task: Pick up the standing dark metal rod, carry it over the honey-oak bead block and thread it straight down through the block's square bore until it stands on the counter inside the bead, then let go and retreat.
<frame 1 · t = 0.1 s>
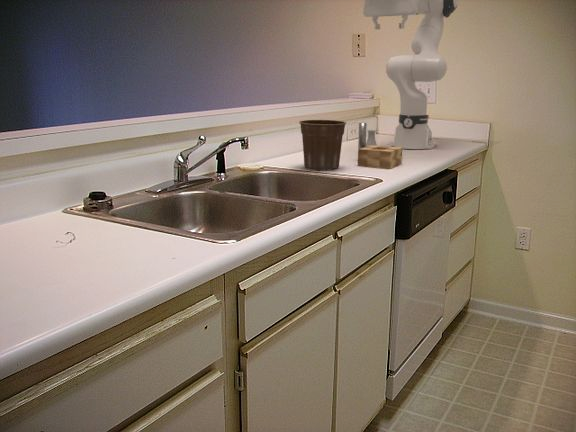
hand: (389, 28, 212), 48 cm above the table, fingers open, 8 cm apart
rod: (361, 160, 216), on the table
plant pot: (322, 168, 200), on the table
flask: (370, 156, 228), on the table
bead block: (379, 164, 206), on the table
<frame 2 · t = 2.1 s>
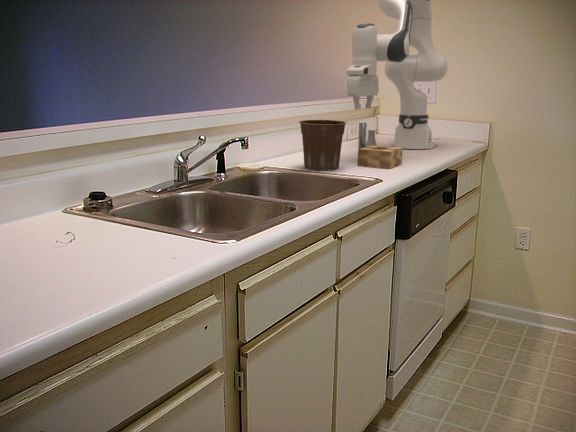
hand: (363, 108, 211), 19 cm above the table, fingers open, 8 cm apart
nothing on the table moved.
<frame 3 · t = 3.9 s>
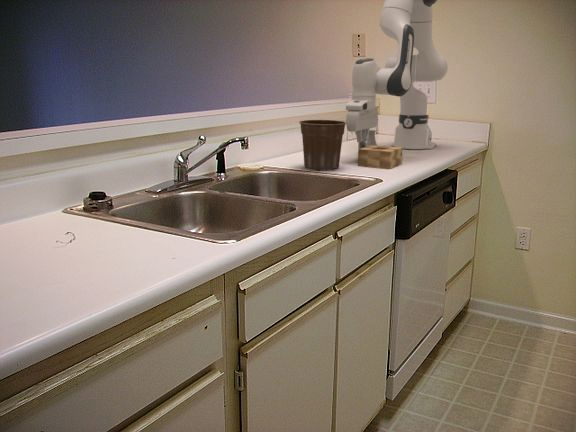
hand: (362, 141, 214), 7 cm above the table, fingers closed on rod, 3 cm apart
rod: (361, 160, 216), on the table, touching gripper
everything else where it was.
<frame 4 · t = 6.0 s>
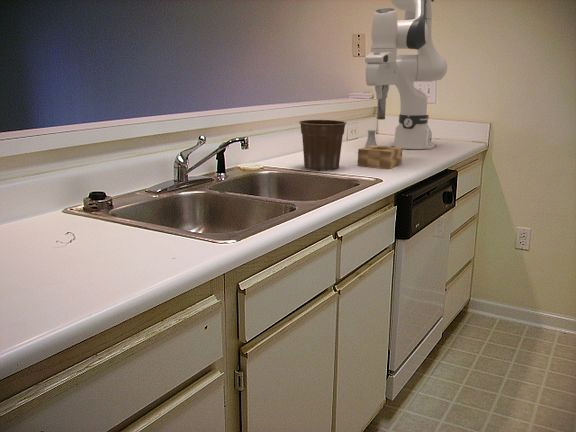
hand: (381, 98, 200), 23 cm above the table, fingers closed on rod, 3 cm apart
rod: (381, 119, 202), point 16 cm above the table, touching gripper
everything else where it was.
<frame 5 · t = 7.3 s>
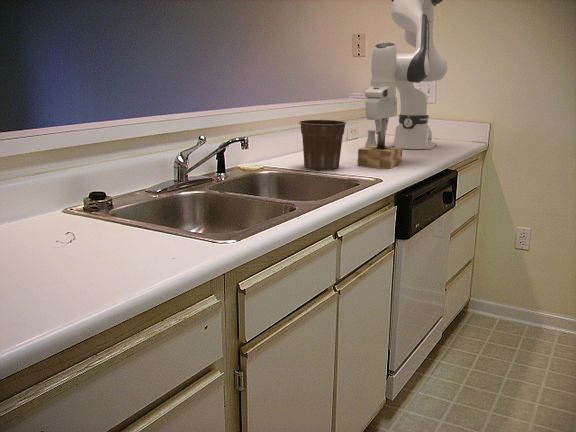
hand: (381, 131, 202), 12 cm above the table, fingers closed on rod, 3 cm apart
rod: (380, 151, 204), point 5 cm above the table, touching gripper
everything else where it was.
when the fingers open (9 cm above the table, at t = 8.3 s): rod drops 1 cm, resting in bead block.
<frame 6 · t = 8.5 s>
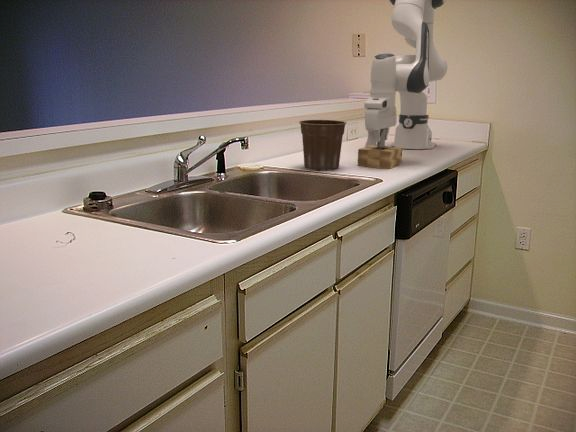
hand: (380, 141, 204), 9 cm above the table, fingers open, 5 cm apart
rod: (380, 164, 206), resting in bead block
everything else where it was.
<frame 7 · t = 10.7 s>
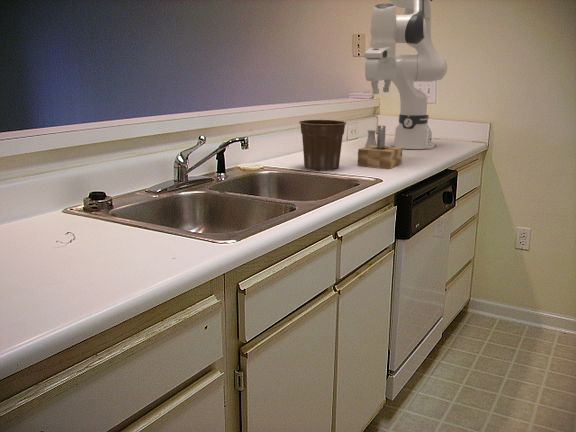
hand: (380, 93, 203), 25 cm above the table, fingers open, 8 cm apart
nothing on the table moved.
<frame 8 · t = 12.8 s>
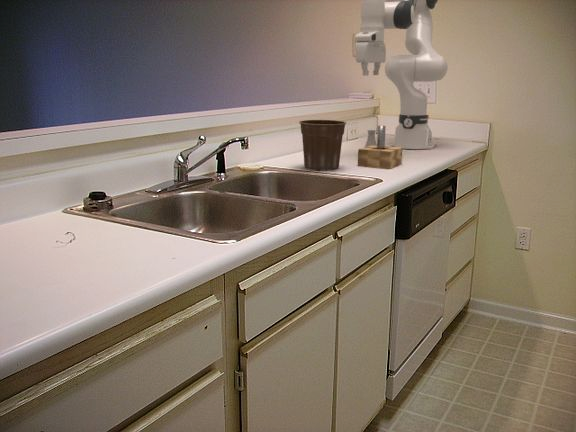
hand: (370, 75, 215), 31 cm above the table, fingers open, 8 cm apart
nothing on the table moved.
at the end: rod 0.1 cm off-centre on the bead block, point 0.0 cm above the bead block's base; rod tilted 0°; the gripper is holding nothing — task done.
